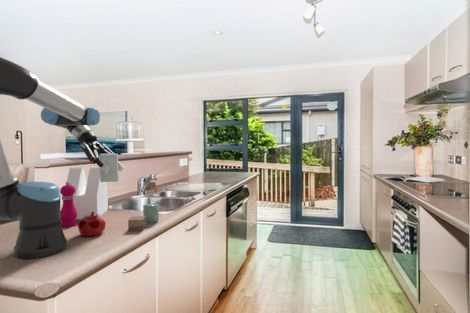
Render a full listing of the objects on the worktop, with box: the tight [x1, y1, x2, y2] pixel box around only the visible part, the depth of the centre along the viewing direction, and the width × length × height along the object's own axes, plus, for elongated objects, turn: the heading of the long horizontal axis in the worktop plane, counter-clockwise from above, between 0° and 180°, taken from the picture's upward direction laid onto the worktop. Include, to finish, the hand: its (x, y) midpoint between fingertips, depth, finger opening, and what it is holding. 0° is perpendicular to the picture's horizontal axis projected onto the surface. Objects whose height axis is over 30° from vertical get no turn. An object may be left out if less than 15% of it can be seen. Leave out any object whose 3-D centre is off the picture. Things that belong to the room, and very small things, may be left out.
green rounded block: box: [142, 203, 160, 224], centre depth 133 cm, size 7×7×8 cm
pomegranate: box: [77, 212, 107, 237], centre depth 114 cm, size 10×10×9 cm
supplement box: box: [99, 153, 120, 183], centre depth 129 cm, size 7×7×13 cm
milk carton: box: [66, 166, 109, 220], centre depth 148 cm, size 19×15×25 cm
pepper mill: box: [59, 181, 77, 228], centre depth 128 cm, size 7×7×20 cm
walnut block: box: [127, 215, 147, 232], centre depth 122 cm, size 6×6×5 cm
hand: (115, 170), depth 128 cm, fingers closed on supplement box, 10 cm apart
